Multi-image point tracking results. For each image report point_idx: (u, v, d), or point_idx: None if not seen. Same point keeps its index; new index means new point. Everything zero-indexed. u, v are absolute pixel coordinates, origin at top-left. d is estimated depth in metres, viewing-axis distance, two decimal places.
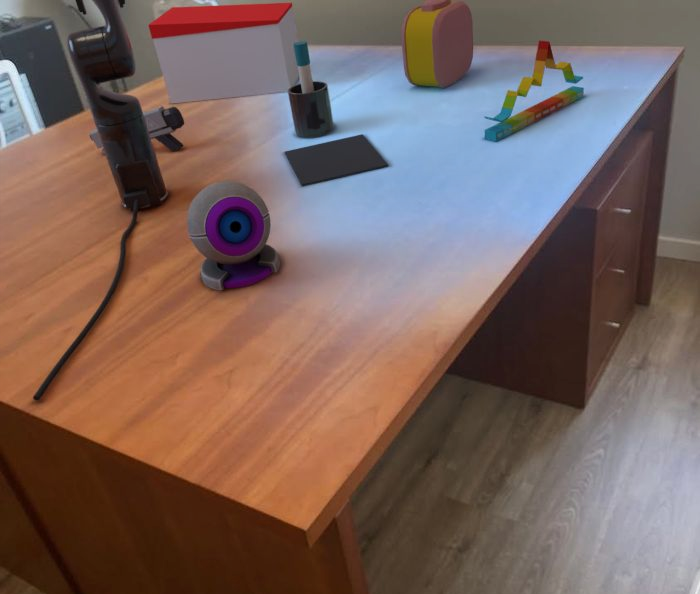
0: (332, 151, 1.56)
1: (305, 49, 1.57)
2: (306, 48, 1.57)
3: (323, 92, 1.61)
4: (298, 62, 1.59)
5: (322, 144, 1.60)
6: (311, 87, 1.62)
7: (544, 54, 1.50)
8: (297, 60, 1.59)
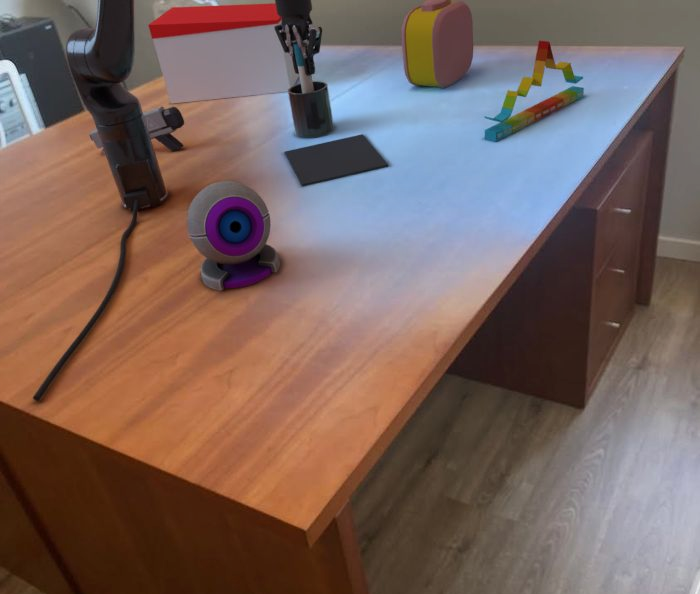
0: (332, 151, 1.56)
1: None
2: (306, 48, 1.57)
3: (323, 92, 1.61)
4: (298, 62, 1.59)
5: (322, 144, 1.60)
6: (311, 87, 1.62)
7: (544, 54, 1.50)
8: (297, 60, 1.59)
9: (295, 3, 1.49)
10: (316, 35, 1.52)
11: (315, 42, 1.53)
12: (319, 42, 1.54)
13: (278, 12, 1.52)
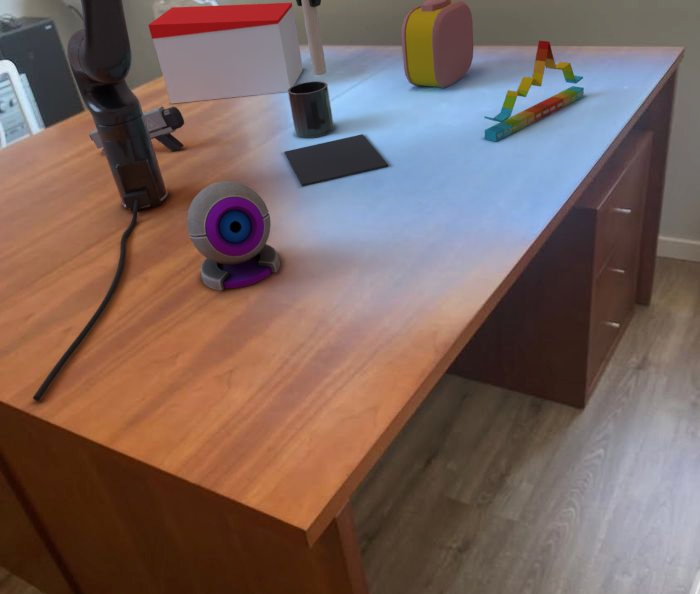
0: (332, 151, 1.56)
1: None
2: None
3: (323, 92, 1.61)
4: None
5: (322, 144, 1.60)
6: (316, 22, 1.37)
7: (544, 54, 1.50)
8: None
9: None
10: None
11: None
12: None
13: None
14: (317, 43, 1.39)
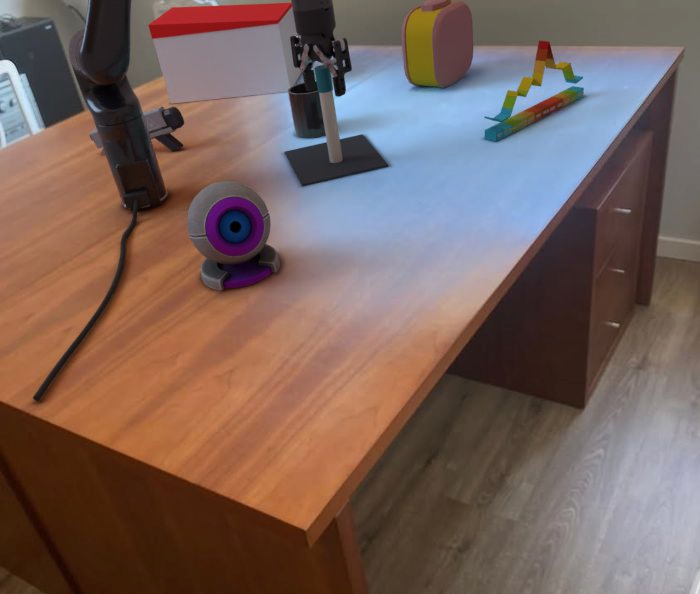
0: None
1: (328, 74, 1.40)
2: (329, 73, 1.40)
3: None
4: (320, 88, 1.41)
5: (322, 144, 1.60)
6: (334, 116, 1.45)
7: (544, 54, 1.50)
8: (318, 86, 1.41)
9: (317, 20, 1.32)
10: (341, 46, 1.33)
11: (343, 56, 1.34)
12: (348, 56, 1.34)
13: (297, 30, 1.34)
14: (334, 135, 1.47)
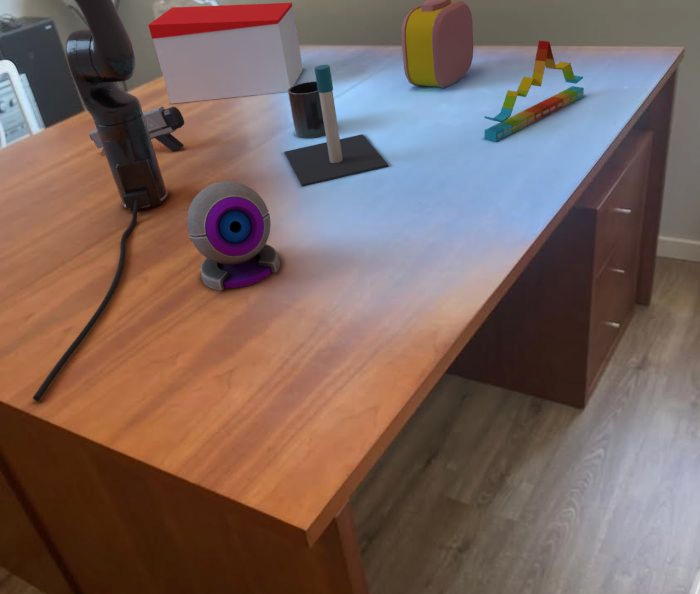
0: None
1: (328, 74, 1.40)
2: (329, 73, 1.40)
3: None
4: (320, 88, 1.41)
5: (322, 144, 1.60)
6: (334, 116, 1.45)
7: (544, 54, 1.50)
8: (318, 86, 1.41)
9: None
10: None
11: None
12: None
13: None
14: (334, 135, 1.47)
